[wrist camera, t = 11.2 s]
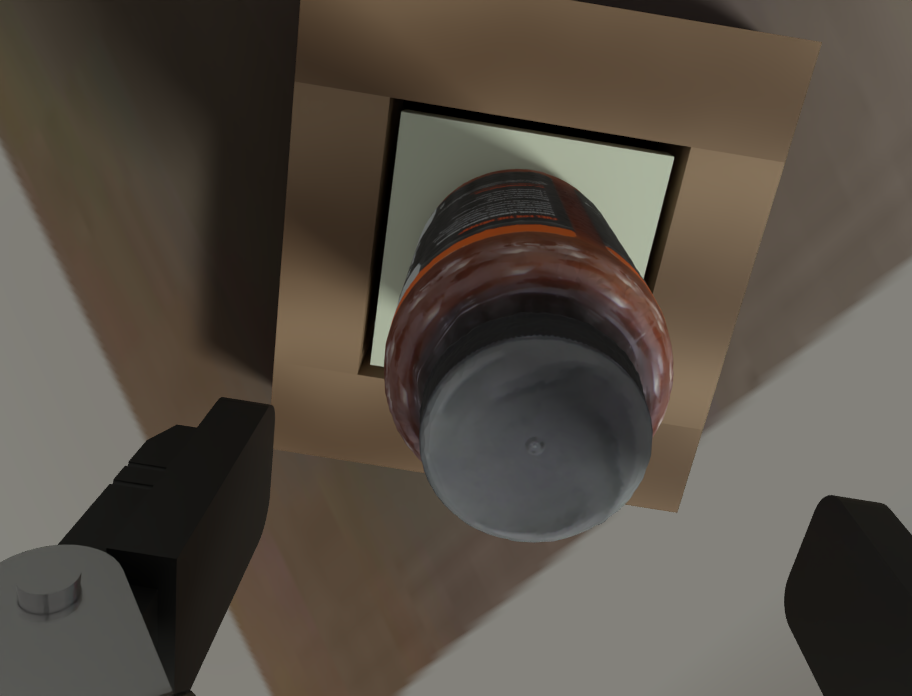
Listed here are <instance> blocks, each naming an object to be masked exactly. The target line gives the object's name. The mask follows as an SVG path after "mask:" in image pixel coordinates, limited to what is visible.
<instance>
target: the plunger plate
mask: <svg viewBox="0 0 912 696" xmlns="http://www.w3.org/2000/svg"><path fill="white" fill-rule="evenodd" d="M673 161H674V156H672V155H671V154H669V153H668V152H662V151H656V150H650V149H644V148H638V147H632V146H626V145H620V144H614V143H608V142H602V141H596V140H590V139H584V138H578V137H571V136H565V135H559V134H553V133H547V132H541V131H535V130H529V129H523V128H517V127H511V126H505V125H499V124H493V123H487V122H481V121H475V120H468V119H462V118H456V117H450V116H444V115H438V114H432V113H426V112H420V111H414V110H408V109H404V110H403V111H402V112H401V118H400V126H399V134H398V142H397V151H396V159H395V167H394V175H393V183H392V191H391V199H390V207H389V216H388V224H387V232H386V240H385V248H384V256H383V264H382V272H381V280H380V289H379V297H378V305H377V313H376V321H375V329H374V337H373V345H372V354H371V362H370V365H376V366H382V367H384V357H385V346H386V341H387V337H388V333H389V330H390V327H391V323H392V320H393V317H394V314H395V311H396V307H397V304H398V301H399V297H400V294H401V292H402V289H403V286H404V283H405V280H406V277H407V273H408V271H409V267H410V265H411V262H412V259H413V256H414V253H415V250H416V247H417V244H418V241H419V238H420V235H421V233H422V231H423V229H424V227H425V225H426V223H427V221H428V220H429V218H430V217H431V215H432V213H433V212H434V211H435V210H436V208H437V207H438V206H439V205H440V204H441V202H442V201H443V200H444V199H445V198H446V197H447V196H448V195H449V194H450V193H451V192H453V191H454V190H455V189H456V188H458V187H459V186H461V185H462V184H463V183H465V182H468V181H469V180H471V179H474V178H476V177H478V176H481V175H484V174H487V173H490V172H494V171H500V170H508V169H530V170H535V171H540V172H544V173H546V174H549V175H552V176H554V177H557V178H559V179H561V180H563V181H565V182H567V183H568V184H570V185H572V186H573V187H575V188H576V189H578V190H579V191H580V192H581V193H582V194H583V195H584V196H585V197H586V198H588V199H589V200H590V201H591V202H592V203H593V204H594V205H595V206H596V208H597V209H598V210H599V211H600V212H601V214H602V215H603V217H604V218H605V220H606V221H607V223H608V224H609V226H610V228H611V229H612V231H613V232H614V234H615V235H616V237H617V238H618V240H619V242H620V243H621V245H622V246H623V248H624V249H625V250H626V252H627V254H628V256H629V257H630V258H631V260H632V261H633V263H634V265H635V267H636V269H637V270H638V271H639V273H640V275H641V276H642V278H643V279H644V275H645V271H646V267H647V263H648V259H649V255H650V251H651V247H652V243H653V239H654V236H655V232H656V228H657V224H658V220H659V216H660V212H661V208H662V204H663V200H664V196H665V192H666V188H667V185H668V181H669V177H670V173H671V169H672V165H673Z"/></svg>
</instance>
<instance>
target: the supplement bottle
mask: <svg viewBox="0 0 912 696" xmlns="http://www.w3.org/2000/svg"><path fill="white" fill-rule="evenodd" d="M673 364H674V362H673V353H672V345H671V341H670V337H669V333H668V329H667V325H666V322H665V319H664V316H663V314H662V311H661V309H660V307H659V305H658V303H657V302H656V300H655V298H654V296H653V294H652V293H651V291H650V289H649V288H648V286H647V284H646V282H645V280H644V279H643V278H642V276H641V275H640V273H639V271H638V270H637V269H636V267H635V265H634V263H633V261H632V260H631V258H630V257H629V256H628V254H627V252H626V250H625V249H624V248H623V246H622V245H621V243H620V242H619V240H618V238H617V237H616V235H615V234H614V232H613V231H612V229H611V228H610V226H609V224H608V223H607V221H606V220H605V218H604V217H603V215H602V214H601V212H600V211H599V210H598V209H597V208H596V206H595V205H594V204H593V203H592V202H591V201H590V200H589V199H588V198H586V197H585V196H584V195H583V194H582V193H581V192H580V191H579V190H578V189H576V188H575V187H573V186H572V185H570V184H568V183H567V182H565V181H563V180H561V179H559V178H557V177H554V176H552V175H549V174H546V173H544V172H540V171H535V170H530V169H508V170H500V171H494V172H490V173H487V174H484V175H481V176H478V177H476V178H474V179H471V180H469V181H468V182H465V183H463V184H462V185H461V186H459V187H458V188H456V189H455V190H454V191H453V192H451V193H450V194H449V195H448V196H447V197H446V198H445V199H444V200H443V201H442V202H441V204H440V205H439V206H438V207H437V208H436V210H435V211H434V212H433V213H432V215H431V217H430V218H429V220H428V221H427V223H426V225H425V227H424V229H423V231H422V233H421V235H420V238H419V241H418V244H417V247H416V250H415V253H414V256H413V259H412V262H411V265H410V267H409V271H408V273H407V277H406V280H405V283H404V286H403V289H402V292H401V294H400V297H399V301H398V304H397V307H396V311H395V314H394V317H393V320H392V323H391V327H390V330H389V333H388V337H387V341H386V346H385V357H384V381H385V394H386V397H387V403H388V405H389V411H390V413H391V415H392V417H393V421H394V423H395V426H396V428H397V431H398V432H399V433H400V435H401V437H402V438H403V440H404V442H405V444H406V445H407V446H408V447H409V448H410V449H411V450H412V451H413V453H414V454H415V456H416V457H417V458H418V459H419V460H420V461H421V462H422V464H423V469H424V472H425V474H426V476H427V479H428V481H429V483H430V485H431V487H432V488H433V490H434V492H435V493H436V495H437V496H438V497H439V499H440V500H441V501H442V502H443V504H444V505H445V506H446V507H447V508H448V509H449V510H450V511H452V512H453V513H454V514H455V515H457V516H458V517H459V518H460V519H461V520H463V521H464V522H465V523H467V524H468V525H470V526H472V527H474V528H476V529H478V530H480V531H482V532H484V533H487V534H490V535H493V536H497V537H500V538H505V539H509V540H511V541H519V542H545V541H556V540H560V539H564V538H567V537H571V536H574V535H576V534H579V533H582V532H584V531H586V530H589V529H591V528H592V527H594V526H596V525H600V524H602V523H603V522H605V521H606V520H607V519H608V518H609V517H610V516H612V515H613V514H614V513H616V512H617V511H618V510H620V509H621V508H622V507H623V506H624V505H625V504H626V502H627V501H628V500H629V499H630V498H631V496H632V495H633V493H634V491H635V490H636V489H637V488H638V486H639V484H640V483H641V481H642V479H643V478H644V474H645V471H646V468H647V466H648V464H649V461H650V457H651V450H652V438H653V436H654V435H655V433H656V431H657V430H658V428H659V426H660V424H661V422H662V421H663V419H664V415H665V412H666V409H667V406H668V403H669V400H670V393H671V390H672V386H673V375H674V372H673Z"/></svg>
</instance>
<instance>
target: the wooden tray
mask: <svg viewBox="0 0 912 696" xmlns="http://www.w3.org/2000/svg"><path fill="white" fill-rule="evenodd" d="M821 44H822V42H817V41H811V40H805V39H799V38H793V37H787V36H781V35H775V34H769V33H764V32H758V31H752V30H746V29H740V28H734V27H728V26H722V25H716V24H710V23H704V22H698V21H692V20H686V19H680V18H674V17H668V16H662V15H656V14H650V13H644V12H638V11H632V10H627V9H621V8H615V7H609V6H603V5H597V4H591V3H585V2H579V1H573V0H300V13H299V27H298V40H297V54H296V68H295V82H294V95H293V109H292V123H291V137H290V150H289V164H288V178H287V192H286V205H285V219H284V233H283V247H282V260H281V274H280V288H279V302H278V315H277V329H276V343H275V357H274V370H273V384H272V398H271V405H273V406H274V409H275V430H274V444H273V449H276V450H282V451H289V452H295V453H301V454H308V455H314V456H320V457H327V458H333V459H340V460H346V461H352V462H359V463H365V464H371V465H378V466H384V467H390V468H397V469H403V470H409V471H416V472H422V473H425V472H424V469H423V464H422V462H421V461H420V460H419V459H418V458H417V457H416V456H415V454H414V453H413V451H412V450H411V449H410V448H409V447H408V446H407V445H406V444H405V442H404V440H403V438H402V437H401V435H400V433H399V432H398V431H397V428H396V426H395V423H394V421H393V417H392V415H391V413H390V411H389V405H388V403H387V397H386V394H385V381H384V367H382V366H376V365H370V362H371V354H372V345H373V337H374V329H375V321H376V313H377V305H378V297H379V289H380V280H381V272H382V264H383V256H384V248H385V240H386V232H387V224H388V216H389V207H390V199H391V191H392V183H393V175H394V167H395V159H396V151H397V142H398V134H399V126H400V118H401V112H402V109H403V101H404V100H409V101H415V102H421V103H427V104H433V105H439V106H445V107H451V108H457V109H463V110H470V111H476V112H482V113H488V114H494V115H500V116H506V117H512V118H518V119H524V120H530V121H536V122H542V123H548V124H554V125H560V126H566V127H572V128H578V129H585V130H591V131H597V132H603V133H609V134H615V135H621V136H627V137H633V138H639V139H645V140H651V141H657V142H660V143H659V147H658V151H662V152H668V153H669V154H671V155H672V156H674V161H673V165H672V169H671V173H670V177H669V181H668V185H667V188H666V192H665V196H664V200H663V204H662V208H661V212H660V216H659V220H658V224H657V228H656V232H655V236H654V239H653V243H652V247H651V251H650V255H649V259H648V263H647V267H646V271H645V275H644V280H645V282H646V284H647V286H648V288H649V289H650V291H651V293H652V294H653V296H654V298H655V300H656V302H657V303H658V305H659V307H660V309H661V311H662V314H663V316H664V319H665V322H666V325H667V329H668V333H669V337H670V341H671V345H672V353H673V362H674V364H673V372H674V375H673V386H672V390H671V393H670V400H669V403H668V406H667V409H666V412H665V415H664V419H663V421H662V422H661V424H660V426H659V428H658V430H657V431H656V433H655V435H654V436H653V438H652V450H651V457H650V461H649V464H648V466H647V468H646V471H645V474H644V478H643V479H642V481H641V483H640V484H639V486H638V488H637V489H636V490H635V491H634V493H633V495H632V496H631V498H630V499H629V500H628V501H627V502H626V504H625V505H631V506H638V507H644V508H650V509H657V510H664V511H669V512H676V513H677V512H678V509H679V505H680V502H681V499H682V496H683V492H684V489H685V486H686V482H687V479H688V476H689V473H690V469H691V466H692V463H693V460H694V457H695V453H696V450H697V447H698V444H699V440H700V437H701V434H702V431H703V427H704V424H705V421H706V418H707V414H708V411H709V408H710V405H711V401H712V398H713V395H714V392H715V388H716V385H717V382H718V379H719V375H720V372H721V369H722V366H723V362H724V359H725V356H726V353H727V349H728V346H729V343H730V340H731V336H732V333H733V330H734V327H735V323H736V320H737V317H738V314H739V310H740V307H741V304H742V301H743V298H744V294H745V291H746V288H747V285H748V281H749V278H750V275H751V272H752V268H753V265H754V262H755V259H756V255H757V252H758V249H759V246H760V242H761V239H762V236H763V233H764V229H765V226H766V223H767V220H768V216H769V213H770V210H771V207H772V203H773V200H774V197H775V194H776V190H777V187H778V184H779V181H780V177H781V174H782V171H783V168H784V164H785V161H786V158H787V155H788V151H789V148H790V145H791V142H792V138H793V135H794V132H795V129H796V125H797V122H798V119H799V116H800V112H801V109H802V106H803V103H804V99H805V96H806V93H807V90H808V86H809V83H810V80H811V77H812V73H813V70H814V67H815V64H816V60H817V57H818V54H819V51H820V47H821Z"/></svg>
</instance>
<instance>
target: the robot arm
mask: <svg viewBox="0 0 912 696" xmlns="http://www.w3.org/2000/svg"><path fill="white" fill-rule="evenodd" d="M274 430H275V409H274V406H273V405H269V404H263V403H256V402H250V401H244V400H238V399H231V398H225V397H221V398H220V399H219V400H218V401H217V402H216V403H215V405H214V406H213V407H212V409H211V410H210V411H209V413H208V414H207V415H206V417H205V418H204V419H203V421H202V422H201V423H200V424H199V426H198V427H197V428H195V427H189V426H183V425H175V426H173V427H171V428H170V429H168V430H166V431H164V432H162V433H160V434H158V435H156V436H154V437H152V438H150V439H149V440H147V441H146V442H145V443H144V444H143V445H142V447H141V448H140V449H139V450H138V451H137V453H136V454H135V455H134V456H133V457H132V459H130V461H129V464H128V466H125V467H124V468H123V469H122V470H121V471H120V473H119V474H118V475H117V476H116V477H115V478H114V481H113V484H109V485H108V487H107V488H106V489H105V490H104V491H103V492H102V494H101V495H100V496H99V497H98V498H97V499H96V501H95V502H94V503H93V504H92V505H91V506H90V508H89V509H88V510H87V511H86V512H85V513H84V515H83V516H82V517H81V518H80V519H79V521H78V522H77V523H76V524H75V525H74V526H73V527H72V529H71V530H70V531H69V532H68V533H67V534H66V536H65V537H64V538H63V539H62V541H61V542H60V543H59V544H58V545H53V546H46V547H40V548H36V549H33V550H29V551H25V552H22V553H20V554H17V555H15V556H12V557H10V558H8V559H6V560H4V561H2V562H0V696H196V695H195V694H194V693H193V692H192V691H190V689H191V687H192V685H193V683H194V681H195V678H196V676H197V674H198V672H199V670H200V668H201V665H202V663H203V661H204V659H205V657H206V654H207V652H208V650H209V648H210V646H211V644H212V642H213V640H214V637H215V635H216V633H217V631H218V629H219V627H220V624H221V622H222V620H223V618H224V616H225V614H226V612H227V609H228V607H229V605H230V603H231V601H232V599H233V596H234V594H235V592H236V590H237V588H238V586H239V583H240V581H241V579H242V577H243V575H244V573H245V571H246V568H247V566H248V564H249V562H250V560H251V558H252V555H253V553H254V551H255V549H256V547H257V545H258V542H259V540H260V538H261V535H262V532H263V529H264V525H265V521H266V517H267V512H268V506H269V498H270V485H271V471H272V458H273V444H274ZM784 606H785V614H786V619H787V622H788V625H789V627H790V629H791V631H792V633H793V635H794V637H795V639H796V641H797V643H798V645H799V647H800V649H801V651H802V653H803V655H804V657H805V659H806V661H807V663H808V665H809V667H810V669H811V671H812V673H813V675H814V677H815V679H816V681H817V683H818V685H819V687H820V689H821V692H822V693H823V696H912V535H911V534H910V532H909V531H908V530H907V529H906V528H905V526H904V525H903V524H902V523H901V522H900V521H899V519H898V518H897V517H896V516H895V514H894V513H893V512H892V511H891V510H890V509H889V508H888V507H887V506H886V505H885V504H882V503H877V502H871V501H865V500H859V499H852V498H846V497H840V496H833V495H828V496H826V497H824V498H823V499H822V500H821V501H820V502H819V504H818V505H817V507H816V509H815V511H814V514H813V516H812V519H811V522H810V524H809V526H808V529H807V532H806V534H805V537H804V539H803V542H802V544H801V547H800V549H799V552H798V554H797V557H796V559H795V562H794V565H793V567H792V569H791V572H790V575H789V577H788V580H787V583H786V588H785V596H784Z"/></svg>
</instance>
